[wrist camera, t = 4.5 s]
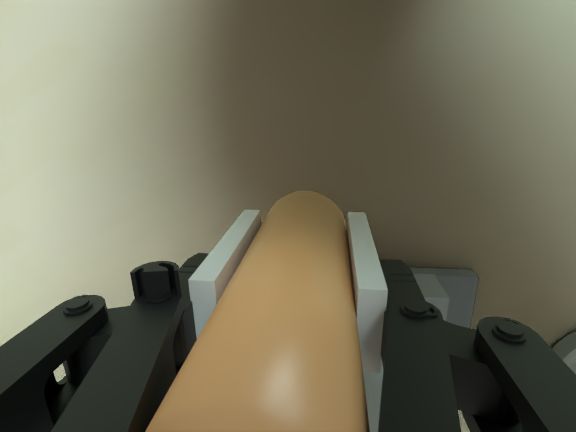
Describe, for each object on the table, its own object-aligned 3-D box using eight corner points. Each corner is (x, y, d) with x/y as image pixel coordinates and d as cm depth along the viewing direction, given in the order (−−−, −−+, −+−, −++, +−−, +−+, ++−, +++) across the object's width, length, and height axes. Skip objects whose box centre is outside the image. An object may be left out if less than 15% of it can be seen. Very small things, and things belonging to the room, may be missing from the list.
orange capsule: (263, 189, 16) (111, 390, 5) (348, 191, 16) (389, 416, 5) (266, 265, 18) (150, 558, 6) (344, 268, 17) (369, 592, 6)
